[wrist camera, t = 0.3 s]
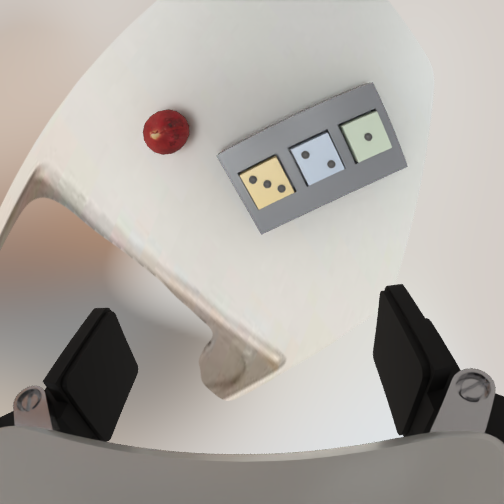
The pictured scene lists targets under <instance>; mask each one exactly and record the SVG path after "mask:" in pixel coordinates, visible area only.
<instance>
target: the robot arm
mask: <svg viewBox="0 0 504 504" xmlns="http://www.w3.org/2000/svg"><path fill="white" fill-rule="evenodd" d="M373 358H374V362H375V364H376V368H377V370H378V373H379V376H380V379H381V382H382V385H383V388H384V391H385V394H386V397H387V400H388V403H389V407H390V410H391V413H392V416H393V419H394V423H395V426H396V430H397V433H398V434H399V435H403V436H404V437H401V438H395V439H390V440H385V441H380V442H375V443H368V444H362V445H355V446H348V447H340V448H333V449H325V450H315V451H305V452H293V453H275V454H205V453H189V452H176V451H166V450H157V449H148V448H140V447H133V446H127V445H121V444H115V443H109V442H107V441H109V440H110V439H111V436H112V434H113V432H114V429H115V427H116V424H117V421H118V419H119V417H120V414H121V412H122V409H123V407H124V404H125V402H126V400H127V397H128V394H129V392H130V390H131V388H132V385H133V383H134V381H135V378H136V376H137V373H138V365H137V363H136V361H135V358H134V356H133V354H132V352H131V350H130V347H129V345H128V343H127V341H126V338H125V336H124V334H123V331H122V329H121V326H120V324H119V322H118V319H117V317H116V314H115V313H114V312H112V311H111V310H110V309H109V308H95V309H94V310H93V311H92V312H91V313H90V315H89V316H88V317H87V319H86V320H85V321H84V323H83V324H82V325H81V327H80V328H79V330H78V331H77V332H76V334H75V335H74V337H73V338H72V339H71V341H70V342H69V344H68V345H67V347H66V348H65V349H64V351H63V352H62V354H61V355H60V357H59V358H58V359H57V361H56V362H55V364H54V365H53V367H52V368H51V370H50V371H49V373H48V374H47V376H46V377H45V379H44V380H43V382H44V384H45V385H46V389H45V390H44V389H43V388H41V387H40V386H30V387H27V388H25V389H23V390H22V391H21V392H20V393H19V394H18V395H17V396H16V398H15V400H14V404H13V412H11V413H8V414H6V415H4V416H2V417H0V504H504V397H503V396H501V395H498V394H495V384H494V381H493V380H492V378H491V377H490V376H489V375H488V374H486V373H485V372H483V371H481V370H478V369H473V368H471V369H464V370H460V369H459V367H458V365H457V363H456V362H455V360H454V358H453V356H452V355H451V353H450V351H449V350H448V348H447V346H446V345H445V343H444V342H443V340H442V338H441V337H440V335H439V333H438V332H437V330H436V329H435V327H434V325H433V324H432V322H431V321H430V320H429V319H427V318H425V317H424V316H423V314H422V313H421V311H420V310H419V308H418V306H417V305H416V303H415V302H414V300H413V299H412V297H411V296H410V294H409V293H408V291H407V290H406V288H405V287H404V286H403V284H398V285H391V286H386V288H385V291H381V292H380V298H379V308H378V317H377V326H376V334H375V341H374V348H373Z"/></svg>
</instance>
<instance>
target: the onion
mask: <svg viewBox="0 0 504 504" xmlns="http://www.w3.org/2000/svg"><path fill="white" fill-rule="evenodd" d="M143 136H144V141H145V142H146V144H147V146H148V147H149V148H150V149H151V150H153V151H154V152H156V153H159V154H162V155H164V154H171V153H174V152H176V151H178V150H179V149H180V148H181V147H182V146H183V145H184V144H185V143H186V141H187V138H188V136H189V125H188V123H187V121H186V119H185V117H184V116H182V115H181V114H180V113H178V112H177V111H172V110H163V111H159V112H156V113H155V114H153V115H152V116H151V117H150V118H149V119H148V120H147V121H146V123H145V125H144V129H143Z"/></svg>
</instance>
